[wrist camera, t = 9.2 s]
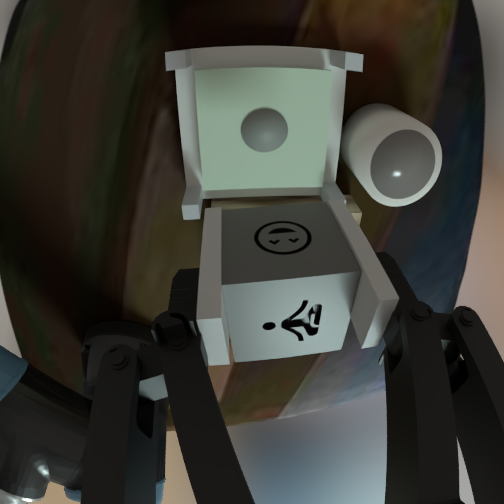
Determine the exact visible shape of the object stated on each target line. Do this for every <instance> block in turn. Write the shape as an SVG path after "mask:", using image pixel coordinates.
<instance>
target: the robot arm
mask: <svg viewBox="0 0 504 504" xmlns="http://www.w3.org/2000/svg"><path fill="white" fill-rule="evenodd" d="M327 205H328V207H329V209H330V211H331V212H332V214H333V216H334V218H335V220H336V222H337V223H338V225H339V227H340V229H341V231H342V233H343V235H344V237H345V238H346V240H347V242H348V244H349V246H350V248H351V250H352V252H353V254H354V256H355V258H356V260H357V262H358V264H359V266H360V268H361V270H362V273H361V277H360V282H359V286H358V290H357V294H356V297H355V301H354V305H353V308H352V312H351V315H350V317H351V320H352V323H353V325H354V328H355V331H356V334H357V337H358V340H359V342H360V345H361V348H367V347H373V346H378V345H379V344H380V342H381V340H382V338H384V340H385V343H386V346H385V348H384V350H383V352H382V354H381V356H380V358H379V362H378V364H381V363H382V361H383V359H384V368H385V383H386V403H387V473H386V492H385V504H465V503H464V502H462V501H461V500H460V496H459V462H458V446H457V438H458V442H459V444H460V448H461V451H462V455H463V458H464V461H465V465H466V469H467V472H468V476H469V480H470V484H471V488H472V492H473V496H474V501H475V504H504V362H503V360H502V358H501V356H500V354H499V352H498V350H497V348H496V346H495V345H494V343H493V341H492V339H491V337H490V335H489V334H488V332H487V330H486V328H485V326H484V324H483V323H482V321H481V319H480V318H479V316H478V315H477V313H476V312H475V311H474V310H472V309H471V308H469V307H466V306H459V307H456V308H455V310H454V311H453V313H452V314H443V313H436V312H433V310H432V308H431V307H430V306H429V305H428V304H426V303H424V302H422V301H418V299H417V298H416V296H415V294H414V292H413V290H412V289H411V287H410V285H409V283H408V282H407V280H406V278H405V276H403V273H402V271H401V270H400V269H399V266H398V265H397V263H396V261H395V260H394V259H393V258H392V257H391V256H390V255H389V254H387V253H386V252H379V253H374V251H373V249H372V247H371V246H370V244H369V242H368V240H367V239H366V237H365V235H364V234H363V232H362V230H361V229H360V227H359V225H358V224H357V222H356V220H355V219H354V217H353V216H352V214H351V212H350V211H349V209H348V207H347V206H346V204H345V203H344V201H343V200H328V204H327ZM461 354H462V357H463V359H464V360H463V359H462V358H461V357H460V355H461ZM81 355H82V371H83V383H84V387H83V392H82V395H81V394H79V393H77V392H75V391H73V390H72V389H70V388H68V387H66V386H64V385H63V384H61V383H59V382H58V381H56V380H54V379H53V378H51V377H49V376H48V375H46V374H44V373H43V372H41V371H40V370H38V369H37V368H35V367H33V366H32V365H30V364H29V363H28V362H27V361H26V360H25V359H24V358H19V357H18V356H16V355H15V354H13V353H11V352H10V351H8V350H7V349H5V348H4V347H2V346H1V345H0V504H28V502H34V501H39V500H41V499H43V498H44V495H45V492H46V489H47V486H48V483H49V482H50V481H51V482H54V483H57V484H60V485H63V486H65V488H64V491H65V494H66V496H67V497H68V498H69V499H71V500H74V501H78V502H81V504H160V503H161V501H162V498H163V486H164V483H165V480H166V479H165V455H166V431H167V413H168V406H169V404H170V408H171V412H172V417H173V421H174V425H175V429H176V433H177V437H178V441H179V445H180V448H181V452H182V455H183V459H184V463H185V466H186V470H187V473H188V476H189V480H190V483H191V486H192V489H193V492H194V496H195V499H196V502H197V504H255V502H254V500H253V497H252V495H251V492H250V490H249V487H248V485H247V482H246V480H245V477H244V475H243V472H242V470H241V467H240V464H239V461H238V459H237V456H236V453H235V451H234V448H233V445H232V442H231V440H230V437H229V434H228V431H227V428H226V425H225V422H224V419H223V416H222V414H221V411H220V408H219V404H218V401H217V398H216V395H215V392H214V389H213V386H212V383H211V380H210V376H209V373H208V363H209V365H226V364H230V359H229V331H228V321H227V315H226V310H225V304H224V298H223V291H222V208H221V207H215V208H205V215H204V225H203V236H202V247H201V259H200V268H194V269H180V270H179V271H178V272H177V273H176V275H175V276H174V278H173V281H172V287H171V294H170V300H169V307H168V311H165V312H163V313H161V314H160V315H158V316H157V317H156V318H155V319H154V321H153V323H152V327H151V328H150V327H147V326H144V325H141V324H137V323H133V322H127V321H104V322H100V323H97V324H95V325H93V326H91V327H90V328H89V329H88V330H87V332H86V334H85V337H84V340H83V343H82V348H81Z"/></svg>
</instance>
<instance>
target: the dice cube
mask: <svg viewBox="0 0 504 504" xmlns="http://www.w3.org/2000/svg"><path fill="white" fill-rule="evenodd" d="M361 273H362V270H361V268H360V266H359V264H358V262H357V260H356V258H355V256H354V254H353V252H352V250H351V248H350V246H349V244H348V242H347V240H346V238H345V237H344V235H343V233H342V231H341V229H340V227H339V225H338V223H337V222H336V220H335V218H334V216H333V214H332V212H331V211H330V209H329V207H328V205H327V203H326V202H320V203H304V204H289V205H276V206H263V207H251V208H239V209H228V210H222V291H223V298H224V304H225V310H226V315H227V321H228V327H229V332H230V338H231V343H232V349H233V354H234V360H235V362H244V361H255V360H265V359H275V358H284V357H292V356H300V355H307V354H314V353H321V352H328V351H334V350H340V349H341V348H342V344H343V341H344V338H345V334H346V331H347V327H348V324H349V320H350V315H351V312H352V308H353V305H354V301H355V297H356V294H357V290H358V286H359V282H360V277H361Z"/></svg>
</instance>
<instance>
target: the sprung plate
mask: <svg viewBox="0 0 504 504" xmlns="http://www.w3.org/2000/svg"><path fill="white" fill-rule="evenodd" d="M332 72H333V71H331V70H329V69H318V68H302V67H276V66H245V67H219V68H204V69H196V70H194V73H195V90H196V105H197V119H198V133H199V145H200V157H201V168H202V179H203V189H204V191H205V190H225V189H249V188H287V187H323V179H324V170H325V160H326V150H327V140H328V128H329V116H330V103H331V89H332Z"/></svg>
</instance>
